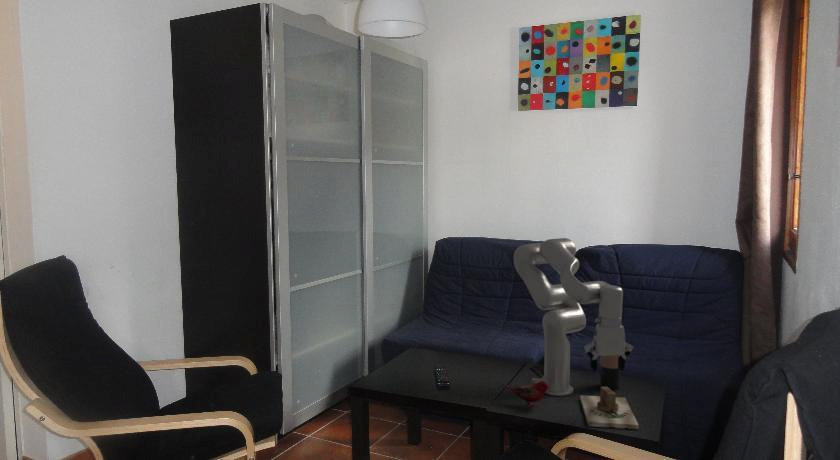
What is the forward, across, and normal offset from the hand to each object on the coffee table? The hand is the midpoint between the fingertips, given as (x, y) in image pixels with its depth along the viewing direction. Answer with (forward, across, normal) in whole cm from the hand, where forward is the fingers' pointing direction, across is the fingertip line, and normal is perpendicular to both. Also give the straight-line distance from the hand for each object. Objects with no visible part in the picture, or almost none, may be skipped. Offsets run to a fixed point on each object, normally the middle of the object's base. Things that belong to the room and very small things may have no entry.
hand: (607, 369), depth 206 cm
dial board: (+16, 0, -1) cm, 16 cm away
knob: (+14, 0, -3) cm, 14 cm away
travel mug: (+16, +12, +24) cm, 31 cm away
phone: (+18, -8, +42) cm, 46 cm away
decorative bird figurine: (+16, -26, +9) cm, 32 cm away
